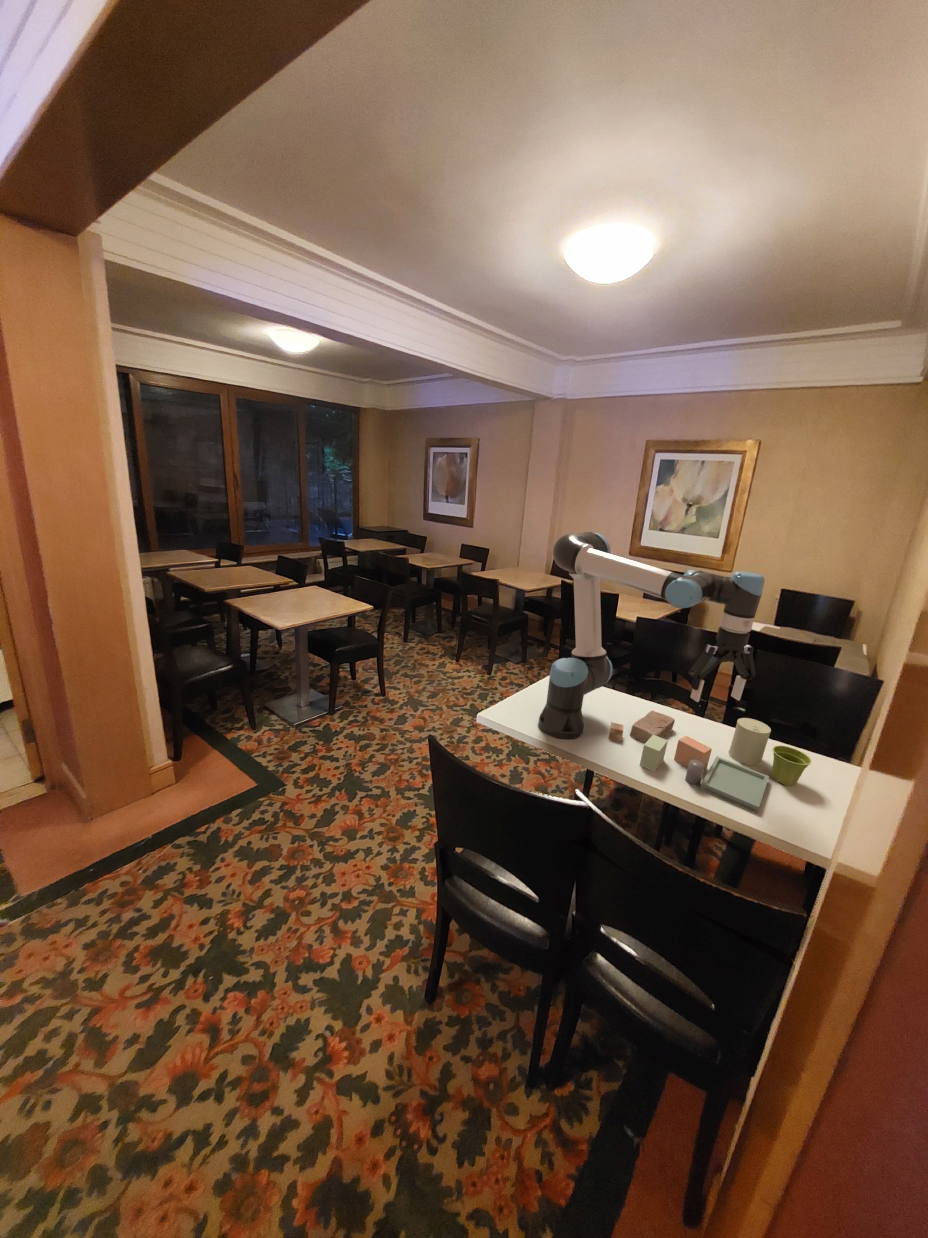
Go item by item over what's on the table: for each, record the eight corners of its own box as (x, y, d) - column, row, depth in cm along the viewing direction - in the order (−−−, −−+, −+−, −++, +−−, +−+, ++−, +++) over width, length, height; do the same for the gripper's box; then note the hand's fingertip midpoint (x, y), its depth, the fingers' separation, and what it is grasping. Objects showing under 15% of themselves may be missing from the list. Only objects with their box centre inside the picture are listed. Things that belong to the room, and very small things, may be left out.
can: (731, 761, 144) (740, 727, 141) (726, 746, 153) (735, 713, 149) (764, 769, 141) (775, 734, 138) (757, 753, 150) (767, 720, 146)
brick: (652, 747, 149) (655, 734, 148) (628, 736, 155) (630, 723, 154) (673, 730, 161) (675, 718, 159) (649, 720, 166) (652, 709, 165)
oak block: (608, 738, 152) (610, 728, 151) (609, 732, 156) (611, 722, 155) (621, 741, 151) (623, 730, 150) (621, 735, 155) (623, 725, 154)
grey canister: (683, 781, 133) (687, 763, 131) (687, 775, 136) (691, 758, 134) (698, 788, 130) (702, 770, 128) (701, 781, 133) (706, 763, 131)
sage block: (639, 765, 139) (643, 744, 137) (648, 754, 145) (652, 734, 143) (654, 771, 136) (659, 751, 134) (663, 760, 142) (667, 740, 140)
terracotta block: (698, 773, 137) (704, 753, 135) (673, 759, 143) (678, 739, 141) (706, 768, 140) (711, 748, 138) (681, 755, 146) (686, 735, 144)
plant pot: (788, 770, 141) (796, 746, 139) (810, 791, 132) (819, 765, 130) (758, 769, 141) (765, 744, 138) (778, 789, 132) (787, 763, 129)
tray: (700, 788, 130) (701, 782, 129) (715, 761, 143) (716, 756, 143) (757, 813, 122) (759, 807, 121) (767, 782, 135) (769, 776, 134)
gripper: (704, 634, 119) (685, 706, 126) (784, 634, 125) (762, 703, 132) (685, 624, 126) (668, 693, 133) (762, 624, 132) (742, 691, 138)
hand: (715, 699), depth 132 cm, fingers open, 13 cm apart
